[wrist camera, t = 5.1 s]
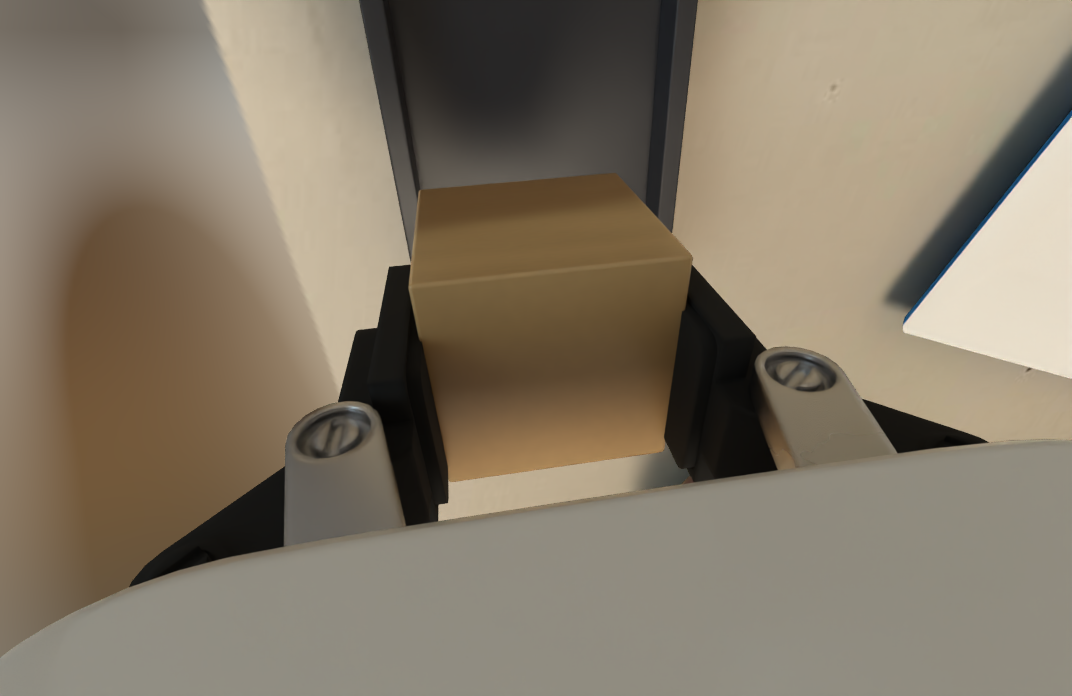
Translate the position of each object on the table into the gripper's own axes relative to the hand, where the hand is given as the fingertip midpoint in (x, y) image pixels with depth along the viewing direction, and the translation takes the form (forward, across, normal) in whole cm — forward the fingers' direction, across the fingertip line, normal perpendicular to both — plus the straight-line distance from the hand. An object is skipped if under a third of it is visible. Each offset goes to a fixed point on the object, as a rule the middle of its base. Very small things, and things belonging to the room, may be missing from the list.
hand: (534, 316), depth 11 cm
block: (+2, 0, 0) cm, 2 cm away
